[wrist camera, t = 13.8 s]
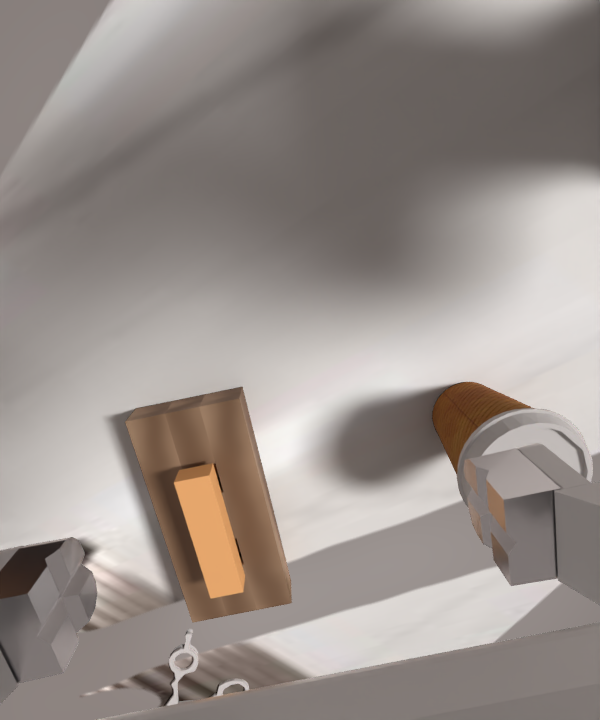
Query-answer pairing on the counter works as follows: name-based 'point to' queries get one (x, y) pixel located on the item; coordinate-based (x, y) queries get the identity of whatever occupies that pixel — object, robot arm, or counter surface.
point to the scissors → (181, 671)
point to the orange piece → (210, 529)
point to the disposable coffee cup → (501, 429)
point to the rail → (238, 487)
